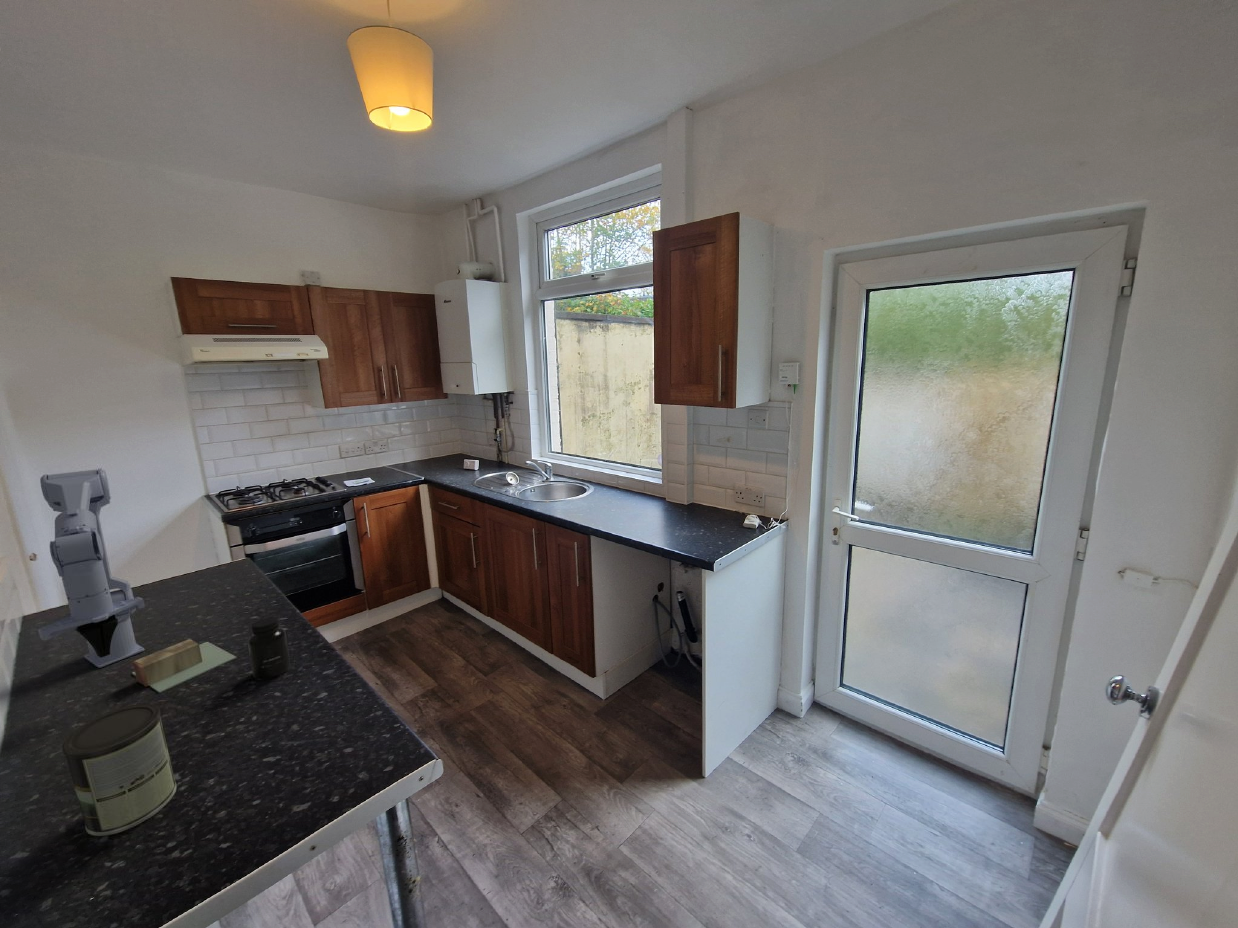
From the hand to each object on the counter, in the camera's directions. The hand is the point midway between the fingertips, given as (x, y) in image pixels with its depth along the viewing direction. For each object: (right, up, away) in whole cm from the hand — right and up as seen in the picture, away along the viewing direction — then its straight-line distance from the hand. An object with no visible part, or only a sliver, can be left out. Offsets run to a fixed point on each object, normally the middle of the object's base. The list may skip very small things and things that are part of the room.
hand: (103, 654), depth 100 cm
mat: (+6, -7, +12) cm, 15 cm away
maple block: (+2, -6, +5) cm, 8 cm away
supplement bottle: (+27, -8, +10) cm, 30 cm away
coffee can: (+29, -14, -24) cm, 40 cm away
